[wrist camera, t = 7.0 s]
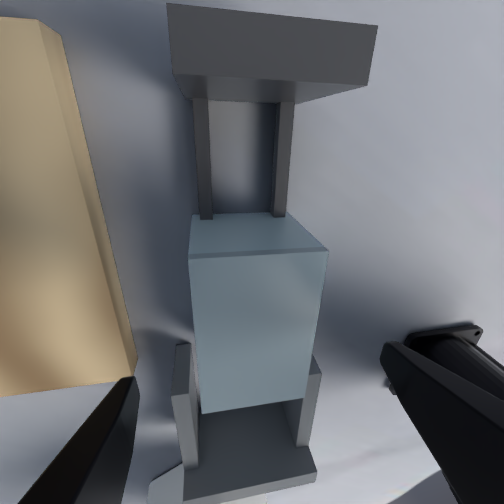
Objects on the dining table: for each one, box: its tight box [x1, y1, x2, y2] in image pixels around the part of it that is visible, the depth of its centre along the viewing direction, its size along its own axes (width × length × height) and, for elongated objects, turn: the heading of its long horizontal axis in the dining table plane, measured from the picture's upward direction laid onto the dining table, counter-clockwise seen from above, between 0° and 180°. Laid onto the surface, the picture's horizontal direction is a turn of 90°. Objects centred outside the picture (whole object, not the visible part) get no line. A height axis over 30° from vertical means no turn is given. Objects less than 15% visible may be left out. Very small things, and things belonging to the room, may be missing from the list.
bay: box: [171, 343, 322, 504], centre depth 16 cm, size 8×8×5 cm
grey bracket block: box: [166, 3, 378, 414], centre depth 11 cm, size 14×5×6 cm, turn 178°
